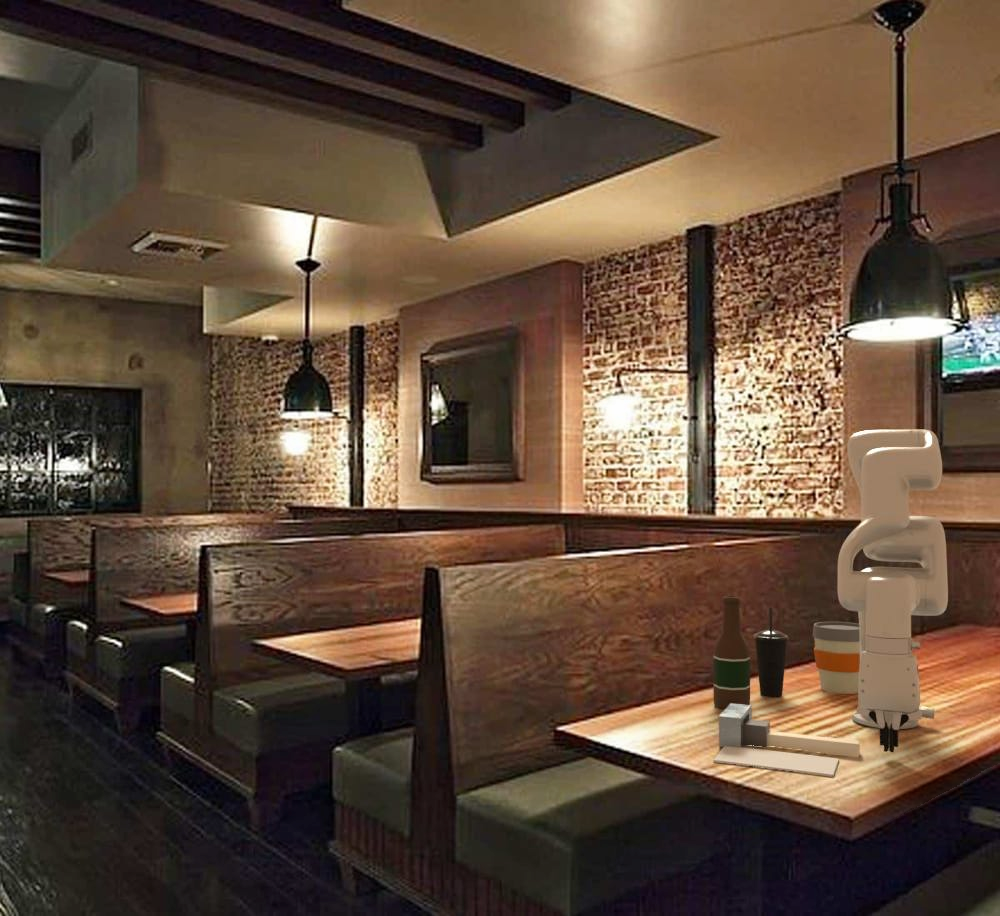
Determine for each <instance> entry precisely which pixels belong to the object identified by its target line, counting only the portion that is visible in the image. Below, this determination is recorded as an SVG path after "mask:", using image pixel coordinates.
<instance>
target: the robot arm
mask: <svg viewBox="0 0 1000 916" xmlns="http://www.w3.org/2000/svg"><path fill="white" fill-rule="evenodd" d="M847 459H848V462H849V466H850V470H851V472H852V475H853V478H854V480H855V483H856V485H857V488H858V490H859V495H860V501H861V502H860V503H861V508H860V509H861V510H860V511H861V513H860V514H861V516H860V517H861V522H860V523H859V524H858V525H857V526H856V527H855V528H854V529H853V530H852V531H851V532H850V533H849V535H848V536H847V537H846V539H845V540H844V541H843V543H842V545H841V548H840V549H839V552H838V553H839V554H838V559H837V597H838V601H839V604H840V605H841V606H842V608H844V609H846V610H847V611H849V612H850V611H851V612H857V613H858V614H857V615H858V624H859V635H860V667H859V680H858V693H857V701H858V703H857V708H856V710H855V711H853V712H852V713H851V720H852V721H854V723H855V722H856V723H858V724H860V725H863V726H867V727H871V728H878V729H879V746H883V752H885V753H888V752H890V753H893V754H894V753H895V752H894V751H895V747H896V748H899V730H907V729H912V728H915V727H918V725H919V720H921V719H922V718H925V719H933V720H934V719H935V709H934V708H929V707H928V706H920V705H921V687H920V686H921V685H920V684H921V683H920V674H919V665H918V660H917V655H916V654H913V653H912V652H913V651H914V650H920V649H921V642H920V641H916V640H914V639H913V638H912V616H923V617H924V616H926V617H929V616H930V617H931V616H940V615H942V614H944V612H945V611H946V610H947V607H948V603H949V602H948V601H949V587H948V586H949V585H948V584H949V583H948V564H947V562H948V561H947V543H946V533H945V530H944V526H943V524H942V523H941V521H940V520H939V519H938V518H935V517H932V516H927V515H910V507H909V506H910V505H909V491H920V490H921V491H931V490H932V491H933V490H935V489H937V488H938V487H939V486H940V483H941V481H942V476H943V460H942V455H941V449H940V445H939V439H938V437H937V434H936V433H934V432H933V431H932V430H929V429H920V428H919V429H917V428H916V429H870V430H863V431H859V432H855V433H853V434H852V435H850V437H849V438H848V442H847ZM861 550H863V554H864V555H865V556H866V557H867V558H868V559H871V560H873V561H879V562H897V563H898V562H900V563H906V562H907V563H917V564H919V565H920V566H921V567H922V568H921V567H918V568H917V567H899V566H872V567H866V568H864V569H862V570H858V571H857V570H854V567H853V566H854V560H855V558H856V556H857V554H858V553H859V552H860V551H861Z"/></svg>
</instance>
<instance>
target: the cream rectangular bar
mask: <svg viewBox="0 0 1000 916" xmlns="http://www.w3.org/2000/svg"><path fill="white" fill-rule="evenodd" d="M770 722H771V721H769V720H760V719H759V720H758V719H752V720H751V719H745V720H744V722H743V746H745V745H752V746H751V747H754V746H762V747H767V746H775V747H782V748H792V749H801V750H807V751H814V752H813V753H816V752H820V753H819V754H824V753H826V754H827V755H834V756H841V755H843V757H851V758H860V752H861V751H860V749H861V747H860V746H861V745H860V740H855V739H846V738H837V737H829V736H820V735H819V736H818V735H812V734H811V735H810V734H803V733H802V734H799V733H789V732H781V731H775V730H774V731H772V730H771V723H770ZM753 745H754V746H753ZM762 747H761V748H762ZM767 748H768V747H767ZM807 751H806V752H807Z"/></svg>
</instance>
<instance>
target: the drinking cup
mask: <svg viewBox="0 0 1000 916" xmlns="http://www.w3.org/2000/svg"><path fill="white" fill-rule="evenodd" d="M768 610H769V611H768V612H769V615H768V619H769V622H768V623H769V624H768V626H769V627H768V628H769V629H765V630H761V631H758V632H757V633H754V634H753V638H754V642H755V651H756V662H757V663H756V664H757V672H758V683H759V693H760V694H759V695H760V696H762V697H766V698H781V697H782V696H783V689H784V677H785V666H786V653H787V645H788V644H787V643H788V640H789V636H788V635H787V634H785V633H783V632H781V631H779V630H775V629H773V607H769V608H768Z"/></svg>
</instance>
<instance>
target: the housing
mask: <svg viewBox="0 0 1000 916" xmlns="http://www.w3.org/2000/svg"><path fill="white" fill-rule="evenodd" d="M752 714H753V713H752V705H751V704H750V705H744V704H734V703H730V705H729V706H728V707H727V708H726V709H725V710H723V711H722V712H721V713H720V714H719V715H718V748H719V747H724V746H729V747H738V748H741V747H744V745H743V722H744V720H745V719H751V720H753V719H752V716H753V715H752Z"/></svg>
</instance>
